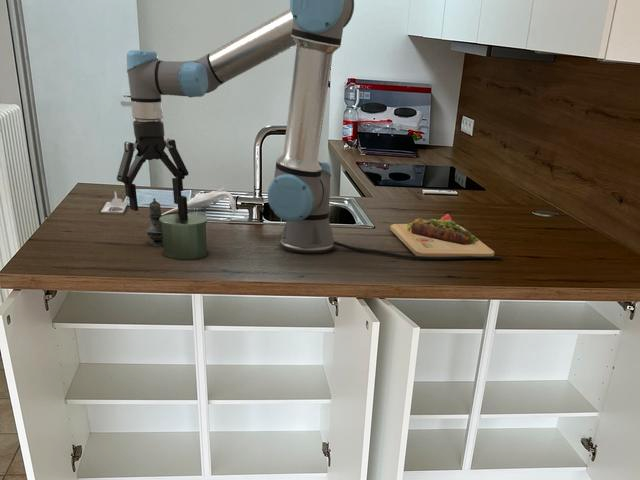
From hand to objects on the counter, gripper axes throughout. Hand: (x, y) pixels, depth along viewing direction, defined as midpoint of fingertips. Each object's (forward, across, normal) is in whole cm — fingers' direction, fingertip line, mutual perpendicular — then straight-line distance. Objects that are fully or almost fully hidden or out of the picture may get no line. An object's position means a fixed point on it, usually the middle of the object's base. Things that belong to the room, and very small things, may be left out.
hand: (156, 207), depth 201 cm
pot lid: (+2, 0, +12) cm, 12 cm away
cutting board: (+11, -69, +44) cm, 82 cm away
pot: (+10, 0, +12) cm, 16 cm away
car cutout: (+9, -12, -45) cm, 48 cm away
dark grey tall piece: (+10, 0, -1) cm, 10 cm away
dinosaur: (+10, -33, -26) cm, 43 cm away
